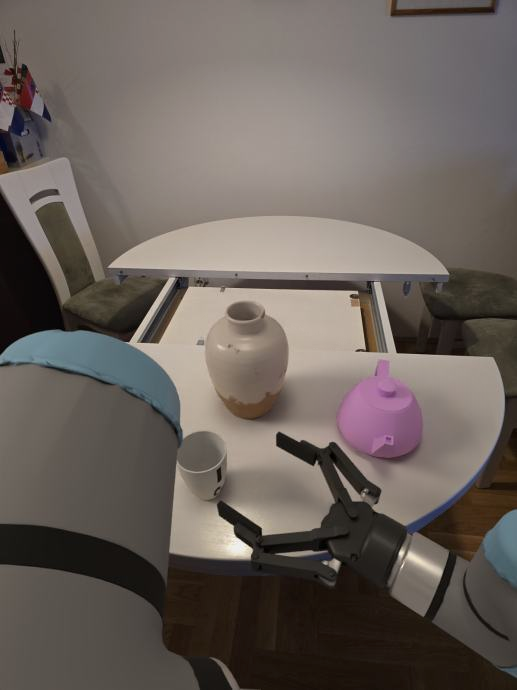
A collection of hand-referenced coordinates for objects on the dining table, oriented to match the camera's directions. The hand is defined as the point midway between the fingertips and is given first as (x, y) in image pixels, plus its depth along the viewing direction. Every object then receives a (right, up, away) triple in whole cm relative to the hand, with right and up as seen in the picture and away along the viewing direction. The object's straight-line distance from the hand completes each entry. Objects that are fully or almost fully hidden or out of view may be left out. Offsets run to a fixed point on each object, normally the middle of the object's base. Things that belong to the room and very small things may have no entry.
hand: (250, 470), depth 57 cm
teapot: (+24, +1, +21) cm, 32 cm away
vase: (-1, +6, +28) cm, 29 cm away
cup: (-8, -7, +13) cm, 16 cm away
